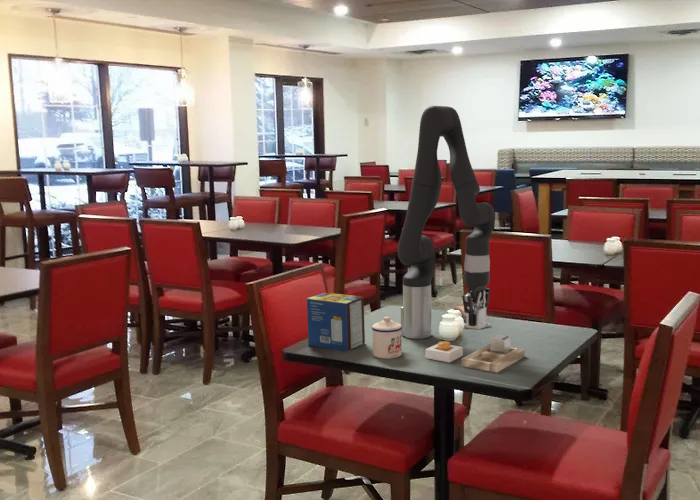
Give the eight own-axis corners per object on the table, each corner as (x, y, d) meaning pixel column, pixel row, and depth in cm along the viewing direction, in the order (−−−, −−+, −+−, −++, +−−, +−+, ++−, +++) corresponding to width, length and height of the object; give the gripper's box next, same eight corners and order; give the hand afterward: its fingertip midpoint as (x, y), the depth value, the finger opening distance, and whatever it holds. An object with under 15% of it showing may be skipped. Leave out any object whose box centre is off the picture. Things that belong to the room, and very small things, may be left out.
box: (425, 359, 212) (425, 349, 212) (439, 352, 218) (439, 343, 218) (449, 363, 207) (449, 353, 207) (462, 356, 213) (462, 347, 213)
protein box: (325, 338, 238) (324, 292, 236) (365, 343, 230) (364, 296, 228) (307, 345, 230) (305, 298, 227) (347, 352, 221) (346, 302, 219)
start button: (435, 350, 212) (435, 343, 212) (441, 347, 215) (441, 340, 215) (446, 351, 210) (446, 345, 210) (452, 348, 213) (452, 342, 212)
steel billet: (466, 327, 219) (466, 307, 218) (473, 324, 223) (473, 304, 222) (479, 329, 217) (479, 309, 216) (486, 326, 220) (486, 306, 219)
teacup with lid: (391, 361, 211) (391, 322, 209) (366, 356, 216) (365, 318, 215) (413, 351, 221) (412, 314, 219) (388, 346, 226) (387, 310, 224)
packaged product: (448, 304, 263) (474, 303, 264) (448, 317, 263) (474, 316, 265) (463, 316, 245) (491, 314, 246) (463, 330, 246) (491, 328, 247)
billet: (490, 357, 210) (490, 337, 210) (497, 354, 214) (497, 333, 213) (504, 360, 208) (504, 339, 207) (510, 356, 211) (510, 336, 210)
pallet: (461, 367, 204) (461, 358, 203) (490, 351, 218) (490, 343, 217) (497, 373, 197) (497, 365, 197) (524, 357, 211) (524, 349, 211)
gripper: (477, 264, 225) (476, 317, 227) (454, 271, 213) (453, 327, 216) (499, 266, 220) (497, 321, 223) (477, 274, 209) (476, 331, 212)
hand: (476, 323), depth 219 cm, fingers closed on steel billet, 4 cm apart
